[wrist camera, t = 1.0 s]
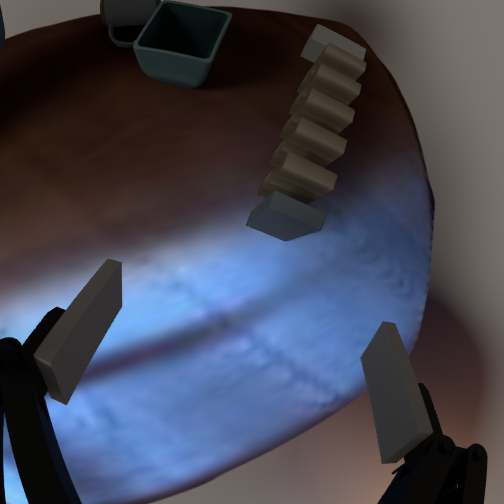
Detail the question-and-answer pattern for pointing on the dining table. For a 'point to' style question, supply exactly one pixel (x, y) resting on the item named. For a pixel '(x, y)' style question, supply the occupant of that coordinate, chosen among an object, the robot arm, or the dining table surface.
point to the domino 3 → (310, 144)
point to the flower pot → (181, 42)
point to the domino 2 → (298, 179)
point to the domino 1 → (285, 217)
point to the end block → (325, 36)
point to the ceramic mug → (126, 15)
